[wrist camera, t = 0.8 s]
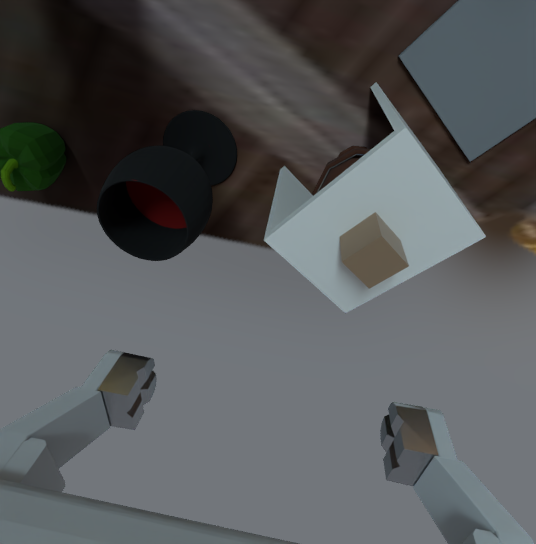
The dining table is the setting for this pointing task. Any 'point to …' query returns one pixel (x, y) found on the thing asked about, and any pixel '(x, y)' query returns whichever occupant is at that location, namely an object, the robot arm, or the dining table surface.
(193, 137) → the wine glass
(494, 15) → the mat
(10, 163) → the bell pepper
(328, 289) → the cover
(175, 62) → the dining table surface
